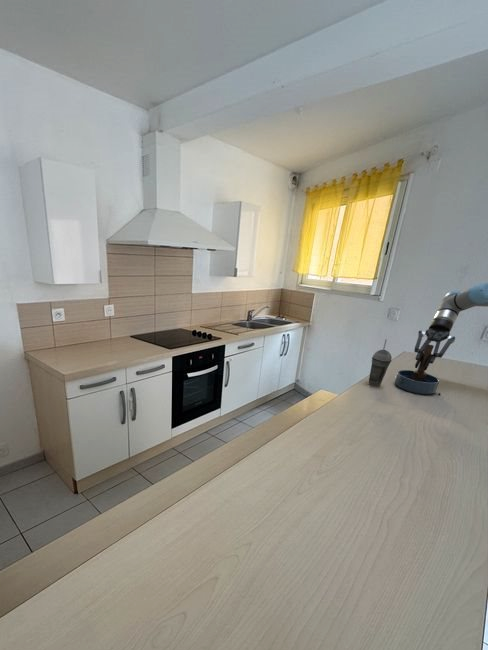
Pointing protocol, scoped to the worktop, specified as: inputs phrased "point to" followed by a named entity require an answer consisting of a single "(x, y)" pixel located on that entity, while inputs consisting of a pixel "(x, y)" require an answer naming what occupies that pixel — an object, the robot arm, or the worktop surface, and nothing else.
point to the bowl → (416, 383)
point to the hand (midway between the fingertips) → (420, 367)
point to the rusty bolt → (423, 364)
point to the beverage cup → (379, 366)
